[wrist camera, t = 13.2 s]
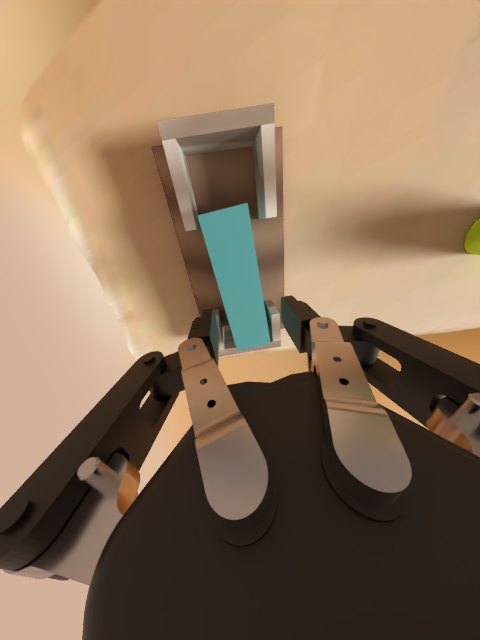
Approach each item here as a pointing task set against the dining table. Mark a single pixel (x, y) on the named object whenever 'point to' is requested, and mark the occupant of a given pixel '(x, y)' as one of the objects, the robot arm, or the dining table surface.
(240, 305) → the teal block
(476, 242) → the soap dispenser
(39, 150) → the dining table surface
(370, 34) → the dining table surface
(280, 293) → the grey walled piece
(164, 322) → the dining table surface
